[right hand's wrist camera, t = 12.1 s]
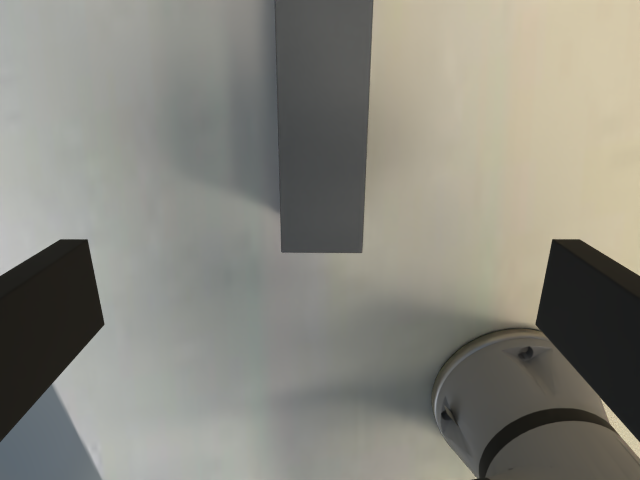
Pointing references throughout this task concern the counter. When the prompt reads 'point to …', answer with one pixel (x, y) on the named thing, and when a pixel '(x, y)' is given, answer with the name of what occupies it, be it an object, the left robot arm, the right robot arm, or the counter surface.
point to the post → (322, 122)
